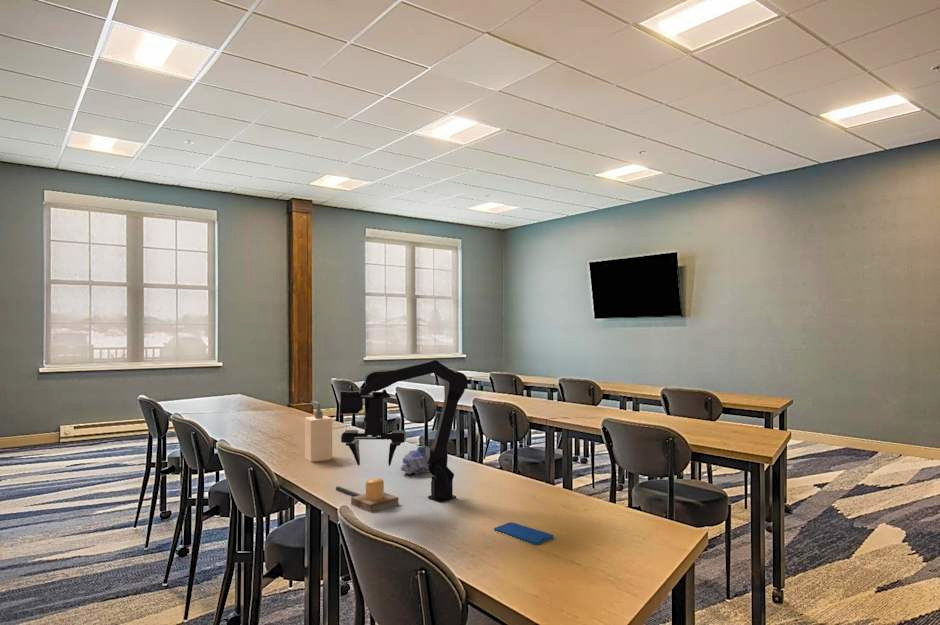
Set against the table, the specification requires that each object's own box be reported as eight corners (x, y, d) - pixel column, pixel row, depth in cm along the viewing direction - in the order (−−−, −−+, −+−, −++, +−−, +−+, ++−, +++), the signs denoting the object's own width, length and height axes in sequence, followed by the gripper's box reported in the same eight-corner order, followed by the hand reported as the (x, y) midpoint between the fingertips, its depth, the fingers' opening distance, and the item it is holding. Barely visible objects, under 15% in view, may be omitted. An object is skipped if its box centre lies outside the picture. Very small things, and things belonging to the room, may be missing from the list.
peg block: (398, 504, 172) (398, 483, 173) (370, 511, 165) (370, 490, 166) (378, 496, 180) (378, 477, 180) (351, 504, 173) (351, 484, 173)
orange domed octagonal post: (386, 497, 173) (386, 480, 173) (372, 501, 169) (372, 483, 169) (376, 493, 176) (376, 477, 176) (363, 497, 173) (363, 480, 173)
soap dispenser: (332, 459, 229) (332, 403, 229) (310, 462, 225) (310, 405, 225) (322, 453, 240) (322, 400, 240) (302, 455, 236) (302, 401, 236)
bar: (366, 500, 176) (366, 496, 176) (363, 500, 176) (363, 497, 176) (338, 489, 188) (338, 486, 188) (336, 489, 187) (336, 486, 187)
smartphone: (510, 521, 156) (555, 535, 145) (511, 525, 156) (555, 539, 145) (491, 528, 151) (536, 543, 140) (492, 532, 151) (536, 547, 140)
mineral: (425, 442, 218) (439, 445, 210) (428, 467, 218) (442, 470, 210) (391, 451, 210) (404, 454, 201) (394, 477, 210) (408, 481, 201)
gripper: (408, 409, 181) (408, 459, 181) (349, 408, 181) (349, 458, 181) (404, 414, 170) (403, 468, 169) (340, 414, 170) (340, 467, 170)
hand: (374, 465), depth 173 cm, fingers open, 9 cm apart
